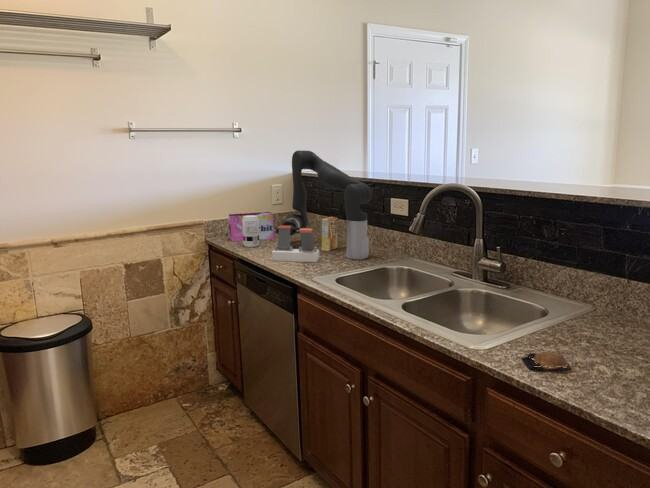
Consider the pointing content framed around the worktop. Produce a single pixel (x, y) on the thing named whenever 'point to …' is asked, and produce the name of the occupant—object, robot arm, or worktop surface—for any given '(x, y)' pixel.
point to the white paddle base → (295, 255)
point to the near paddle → (307, 239)
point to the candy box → (329, 233)
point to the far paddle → (284, 237)
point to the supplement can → (250, 230)
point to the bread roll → (547, 363)
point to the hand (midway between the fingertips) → (282, 233)
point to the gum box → (264, 225)
